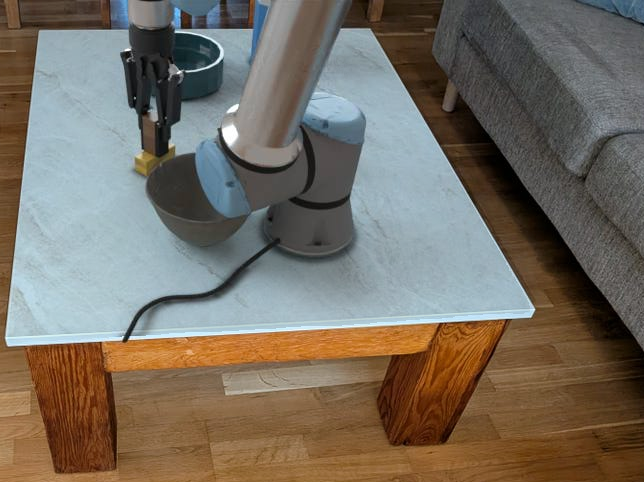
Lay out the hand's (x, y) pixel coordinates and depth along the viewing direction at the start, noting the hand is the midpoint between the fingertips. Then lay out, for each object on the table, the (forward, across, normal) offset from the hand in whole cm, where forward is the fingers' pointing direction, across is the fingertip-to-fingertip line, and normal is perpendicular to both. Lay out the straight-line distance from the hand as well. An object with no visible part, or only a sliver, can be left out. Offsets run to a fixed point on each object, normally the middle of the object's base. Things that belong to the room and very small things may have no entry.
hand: (155, 150), depth 126 cm
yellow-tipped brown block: (+3, 0, 0) cm, 3 cm away
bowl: (+3, -20, +10) cm, 23 cm away
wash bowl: (+3, +19, -28) cm, 34 cm away
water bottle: (+3, +9, -49) cm, 50 cm away
